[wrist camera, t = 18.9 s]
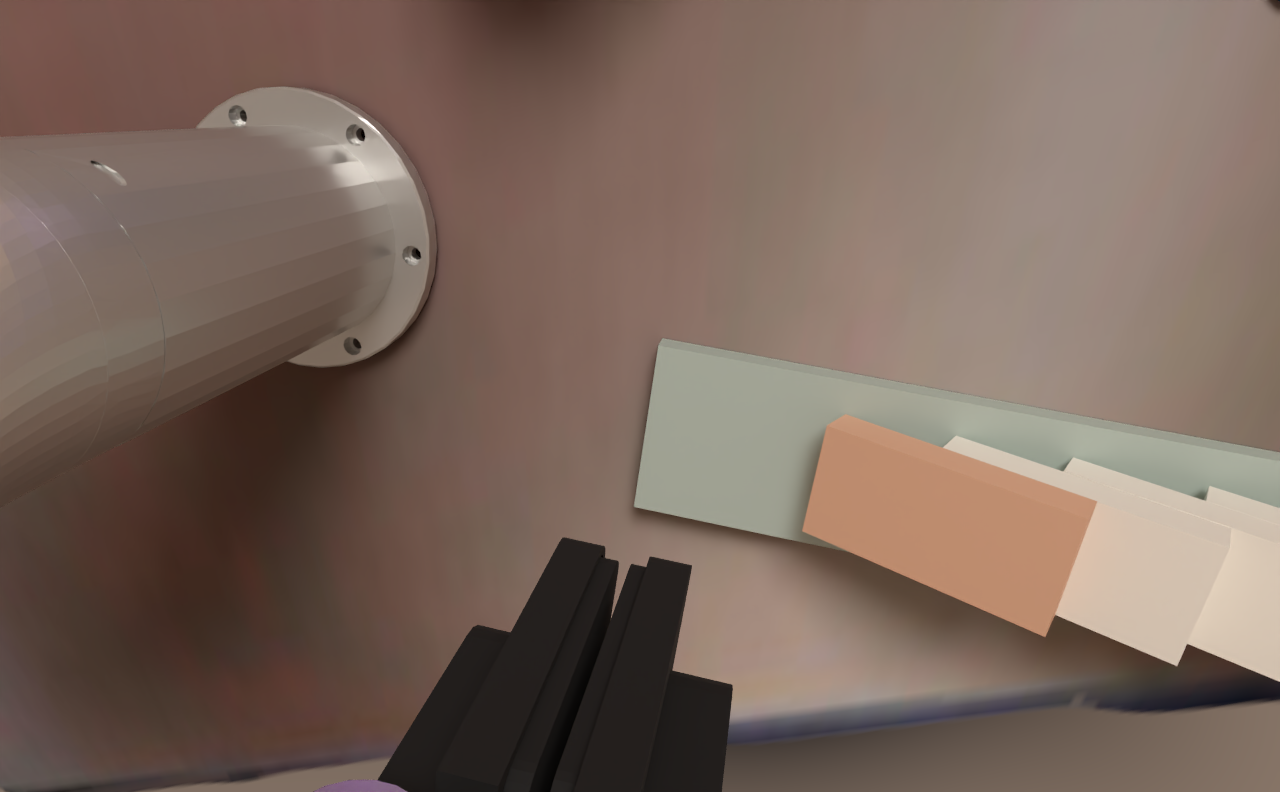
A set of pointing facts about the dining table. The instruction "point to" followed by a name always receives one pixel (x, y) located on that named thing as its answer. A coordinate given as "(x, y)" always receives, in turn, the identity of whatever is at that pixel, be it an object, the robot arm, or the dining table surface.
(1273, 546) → the domino
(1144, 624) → the domino
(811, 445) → the board
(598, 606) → the robot arm
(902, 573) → the domino
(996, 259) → the dining table surface
